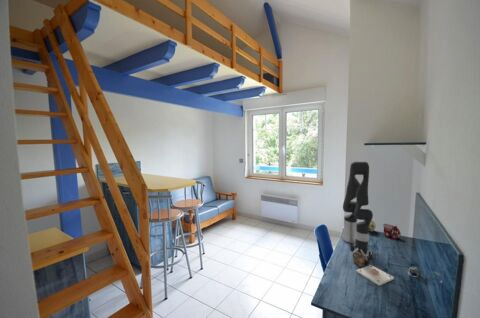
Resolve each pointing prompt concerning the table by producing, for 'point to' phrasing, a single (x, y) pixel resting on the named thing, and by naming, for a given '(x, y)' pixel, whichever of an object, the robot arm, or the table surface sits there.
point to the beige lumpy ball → (372, 226)
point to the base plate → (375, 275)
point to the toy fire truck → (389, 229)
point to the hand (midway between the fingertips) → (360, 261)
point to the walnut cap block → (359, 259)
